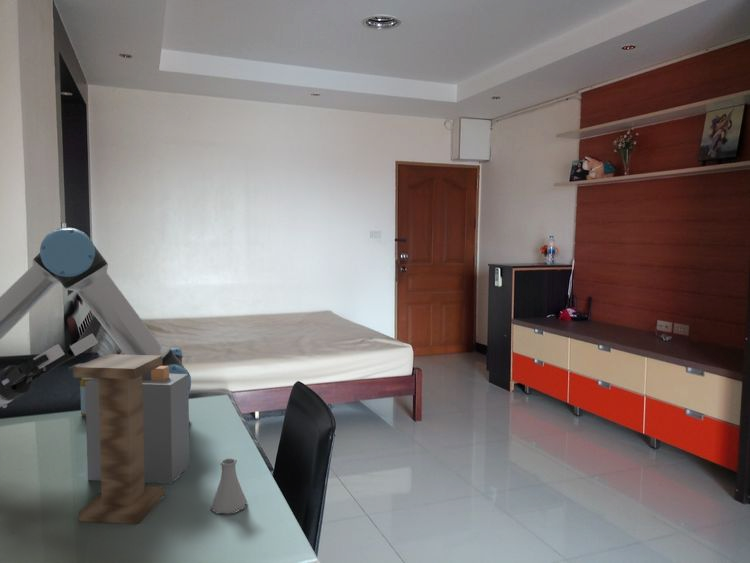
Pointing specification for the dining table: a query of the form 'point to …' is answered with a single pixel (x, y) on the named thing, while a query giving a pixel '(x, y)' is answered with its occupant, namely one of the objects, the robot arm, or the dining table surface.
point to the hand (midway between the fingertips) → (78, 343)
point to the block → (149, 428)
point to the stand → (121, 439)
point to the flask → (228, 490)
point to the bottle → (83, 395)
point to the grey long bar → (154, 374)
